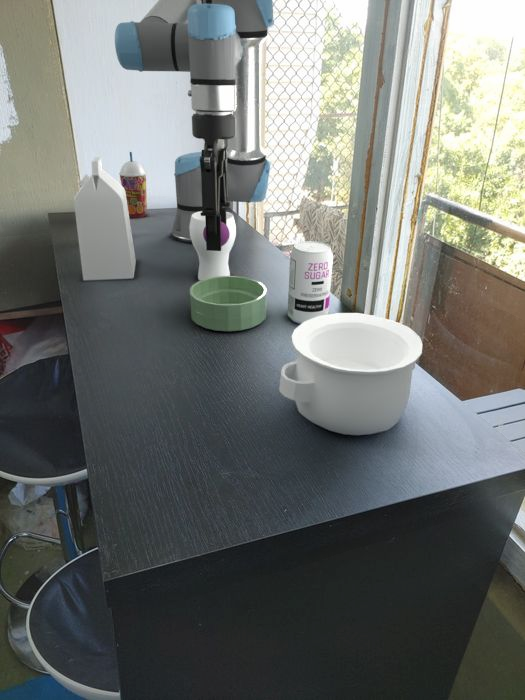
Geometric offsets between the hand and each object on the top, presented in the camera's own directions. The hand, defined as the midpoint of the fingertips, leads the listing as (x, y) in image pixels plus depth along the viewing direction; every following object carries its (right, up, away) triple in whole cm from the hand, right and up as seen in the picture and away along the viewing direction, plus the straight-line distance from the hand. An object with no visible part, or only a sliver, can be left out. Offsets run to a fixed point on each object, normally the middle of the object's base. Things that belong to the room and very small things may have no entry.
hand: (216, 245), depth 100 cm
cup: (-3, -3, +25) cm, 26 cm away
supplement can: (+18, -14, +7) cm, 24 cm away
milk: (-29, -1, +28) cm, 40 cm away
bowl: (+2, -13, +6) cm, 15 cm away
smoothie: (-33, +25, +74) cm, 84 cm away
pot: (+22, -29, -22) cm, 42 cm away
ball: (0, 0, 0) cm, 0 cm away
